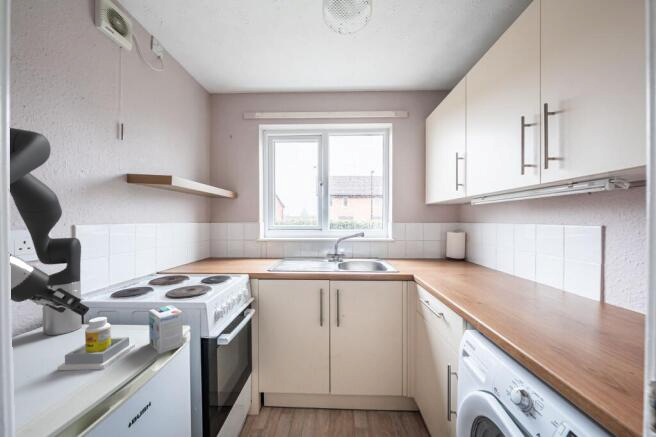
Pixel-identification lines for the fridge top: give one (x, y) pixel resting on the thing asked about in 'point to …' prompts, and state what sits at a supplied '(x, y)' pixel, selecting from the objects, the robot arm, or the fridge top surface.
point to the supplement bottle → (98, 335)
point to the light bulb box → (165, 328)
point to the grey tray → (96, 356)
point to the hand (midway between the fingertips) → (75, 310)
